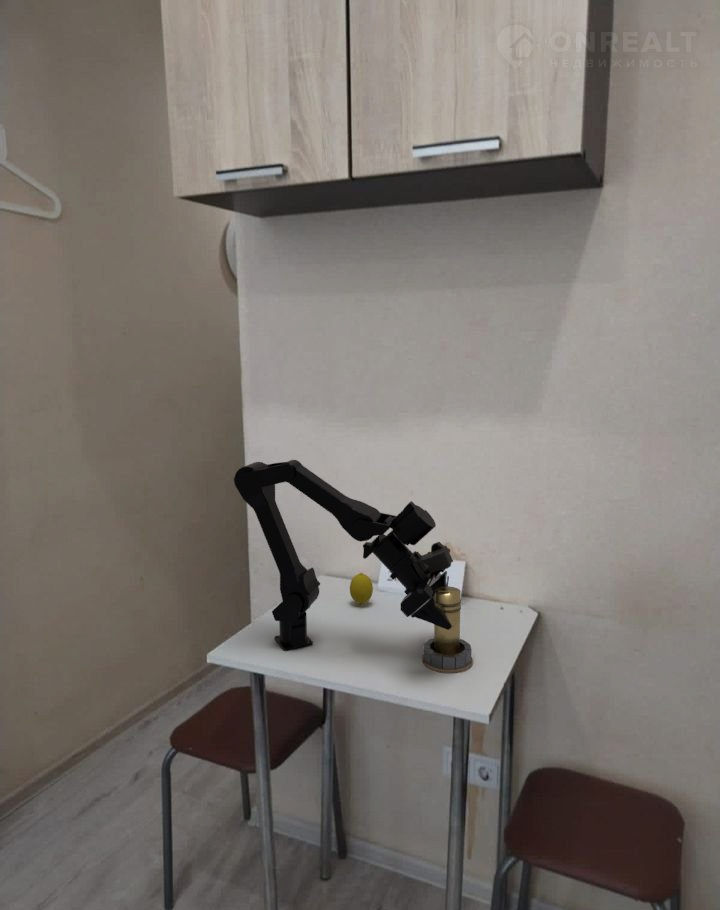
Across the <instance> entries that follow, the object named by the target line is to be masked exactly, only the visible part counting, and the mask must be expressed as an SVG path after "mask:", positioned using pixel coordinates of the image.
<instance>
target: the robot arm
mask: <svg viewBox="0 0 720 910" xmlns="http://www.w3.org/2000/svg"><path fill="white" fill-rule="evenodd" d="M233 483H234V484H233V485H234V486H235V488H236V490H237V491H238V493H239V495H240V496H241V498H242V500H243V501H244V502H245V503H246V504H247V505H249V507H250V508H251V509H252V510H253V511H254V513H255V516H256V519H257V521H258V523H259V525H260V528H261V530H262V534H263V535H264V538H265V540H266V543H267V545H268V547H269V550H270V552H271V555H272V557H273V560H274V562H275V565H276V567H277V569H278V572H279V592H280V595H281V600H282V601H281V602H280V603H279V604H278V605H277V606H276V607H275V608H273V609H272V611H271V613H272V615H273V616H272V617H273V619H274V621H276V622H278V623H279V626H278V627H279V635H275V636H274V637H273V638H274V641H276V643H277V644H278V645H279V646H280V648H281V649H282V650H283V651H288V650H293V649H297V648H298V649H299V648H302V647H307V646H312V645H314V641H313V640H312V639H311V638H310V637H309V635H308V625H307V623H308V620H307V611H308V609H310V608H311V606H312V604H314V602H315V601H316V600H317V599H318V597H319V595H320V587H319V586H321V582H320V581H319V580H318V579H317V576H316V571H315V568H314V567H310V568H306V567H305V566H304V565H303V564H302V563H301V561H300V559H299V556H298V554H297V552H296V548H295V547H294V543H293V542H292V539H291V537H290V534H289V531H288V529H287V526H286V524H285V521H284V519H283V516H282V514H281V512H280V509H279V507H278V504H277V502H276V485H277V484H282V483H287V484H289V485H291V486H293V487H294V489H296V490H298V491H299V492H301V493H302V494H303V495H305V496H306V497H307V498H308V499H310V500H311V501H314V502H315V503H316V504H318V505H319V506H320V507H322V508H323V509H325V511H327V512H329V513H330V514H331V515H332V516H333V517H334V518H335V519H336V520H337V521H338V524H340V526H341V528H342V529H343V530H344V531H345V532H346V533H347V534H348V536H351V538H352V539H354V541H355V540H356V541H357V542H365V543H363V545H362V548H363V552H362V553H363V554H362V555H363V556H362V557H363V559H364V560H365V559H367V558H369V556H371V555H372V554H373V555H375V557H376V558H377V559H378V561H380V562H381V563H382V564H383V565H384V567H386V569H387V570H388V571H389V572H390V573H391V574H390V575H389V577H390V578H391V580H393V581H394V580H395V579H396V580H398V582H399V583H400V584H401V585H402V586H403V587H404V588H405V590H404V591H403V592H404V593H405V596H404V597H403V598H402V601H401V602H400V612H402V613H403V615H404V616H405V617H406V618H409V617H411V619H414V618H416V619H419V620H422V621H425V622H427V623H430V624H433V625H434V624H435V625H437V626H440V627H442V628H444V629H447V630H449V629H450V628H451V627H452V625H451V623H450V622H449V620H448V619H447V617H446V616H445V615H444V613H443V612H442V611H441V609H440V608H439V606H438V605H437V603H436V592H435V589H436V588H438V587H444V586H448V584H447V575H448V571H447V569H449V568H450V567H451V566H452V563H454V559H453V558H452V556H451V554H450V553H451V549H450V548H448V546H447V545H444V544H443V543H442V542H441V541H437V542H435V543H433V544H431V548H430V551H428V552H427V553H425V554H421V553H420V552H419V551H416V550H415V551H413V552H412V551H411V549H410V548H408V546H409V545H411V546H416V545H417V544H418V543H419V542H420V541H422V539H423V538H425V536H427V535H428V534H429V533H430V532H431V531H432V530H433V529H435V528H436V525H437V524H436V522H435V520H434V518H433V516H432V515H431V514H430V513H429V512H428V511H427V510H426V509H423V508H422V507H420V506H419V505H416V504H415V503H414V502H413V501H409V502H408V503H407V504H406V505H405V507H404V508H403V509H402V510H401V511H400V512H399V513H398V514H397V515H394V514H389V513H384V512H381V511H379V509H377V508H375V507H373V506H371V505H369V504H368V503H365V502H363V501H360V500H357V499H353V498H350V497H349V496H347V495H345V494H344V493H342V492H340V491H339V490H338V489H336V488H335V487H334V486H332V485H331V484H330V483H328V482H327V481H325V480H324V479H323V478H321V477H320V476H318V475H317V474H316V473H314V472H313V471H311V470H310V469H308V468H307V467H306V466H304V465H303V464H302V463H301V462H300V461H298V460H297V459H290V460H288V461H281V462H274V463H269V464H267V463H264V462H262V461H255V462H252V463H249V464H246V465H245V466H242V467H240V468H238V470H237V471H236V472H235V475H234V477H233ZM389 529H391V531H389V532H388V530H389ZM387 532H388V533H387ZM386 533H387V534H386ZM373 537H375V538H374V539H373V540H371V539H372V538H373ZM369 540H371V541H370V542H368V541H369Z"/></svg>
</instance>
